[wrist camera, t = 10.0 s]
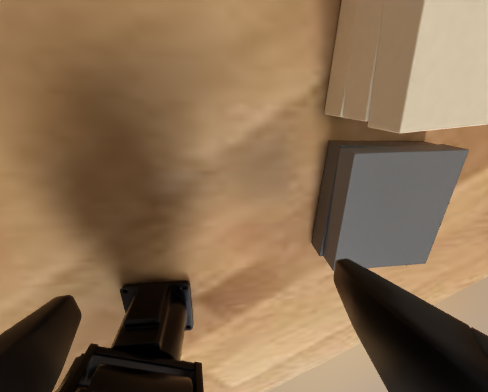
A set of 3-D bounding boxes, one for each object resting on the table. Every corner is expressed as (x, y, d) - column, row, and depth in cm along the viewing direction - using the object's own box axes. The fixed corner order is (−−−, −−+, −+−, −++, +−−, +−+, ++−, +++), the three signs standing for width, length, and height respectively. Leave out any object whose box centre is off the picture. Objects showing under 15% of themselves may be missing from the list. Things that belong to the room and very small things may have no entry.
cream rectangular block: (464, 117, 13) (516, 121, 11) (366, 127, 13) (399, 133, 11) (519, -69, 10) (609, -120, 8) (391, -63, 10) (446, -114, 8)
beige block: (397, 116, 18) (459, 123, 14) (319, 114, 18) (355, 121, 13) (434, -18, 15) (533, -71, 10) (339, -26, 14) (398, -87, 10)
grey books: (392, 240, 23) (424, 266, 20) (311, 243, 23) (328, 271, 19) (426, 139, 19) (473, 149, 16) (328, 138, 19) (355, 149, 15)
